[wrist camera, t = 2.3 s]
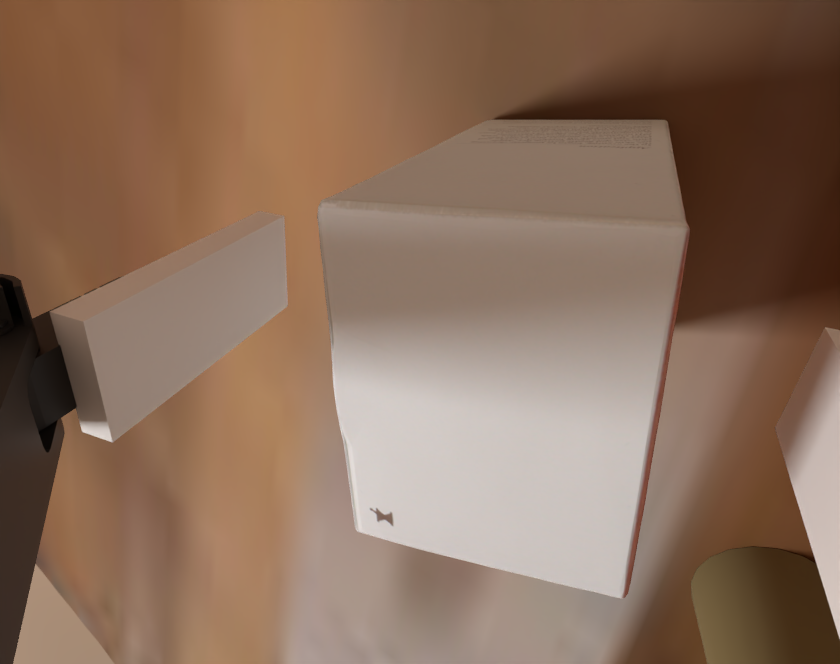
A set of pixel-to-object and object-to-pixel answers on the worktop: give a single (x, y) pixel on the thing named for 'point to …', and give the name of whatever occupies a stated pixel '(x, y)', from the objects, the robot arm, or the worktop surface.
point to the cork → (763, 609)
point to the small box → (508, 342)
